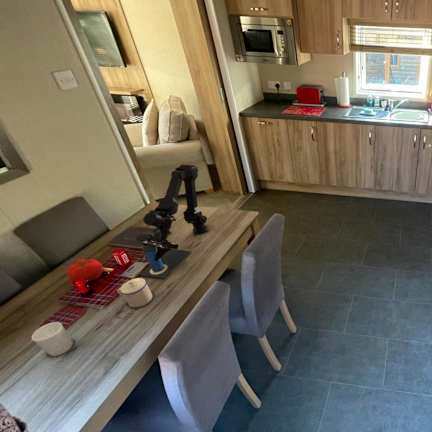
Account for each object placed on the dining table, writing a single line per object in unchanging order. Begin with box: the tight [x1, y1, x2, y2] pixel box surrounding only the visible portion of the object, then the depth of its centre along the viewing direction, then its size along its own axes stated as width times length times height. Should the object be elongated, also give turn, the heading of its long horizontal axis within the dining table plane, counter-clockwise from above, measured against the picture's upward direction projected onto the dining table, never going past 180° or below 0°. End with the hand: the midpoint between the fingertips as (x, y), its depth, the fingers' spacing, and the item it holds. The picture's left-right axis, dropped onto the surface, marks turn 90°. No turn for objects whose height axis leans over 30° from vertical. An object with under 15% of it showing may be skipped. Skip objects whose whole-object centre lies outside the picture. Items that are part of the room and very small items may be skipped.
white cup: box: [31, 321, 74, 357], centre depth 113 cm, size 8×8×10 cm
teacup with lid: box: [117, 277, 153, 308], centre depth 133 cm, size 12×9×12 cm
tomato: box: [66, 258, 104, 282], centre depth 143 cm, size 11×12×9 cm
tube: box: [141, 244, 165, 272], centre depth 147 cm, size 5×5×13 cm
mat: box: [139, 249, 191, 280], centre depth 156 cm, size 20×12×1 cm, turn 174°
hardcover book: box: [107, 225, 171, 250], centre depth 170 cm, size 16×23×2 cm
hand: (151, 259), depth 146 cm, fingers closed on tube, 5 cm apart
